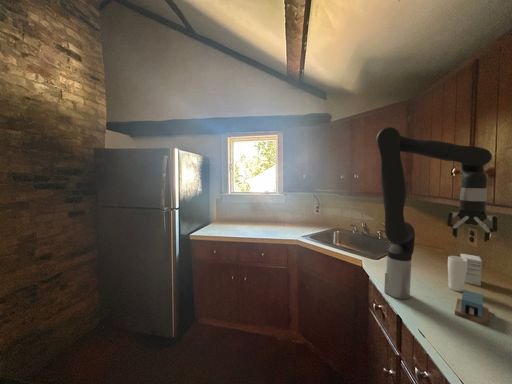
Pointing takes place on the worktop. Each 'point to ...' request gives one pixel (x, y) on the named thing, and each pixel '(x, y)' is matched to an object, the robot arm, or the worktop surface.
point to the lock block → (472, 301)
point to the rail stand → (472, 313)
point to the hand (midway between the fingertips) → (470, 239)
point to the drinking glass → (457, 272)
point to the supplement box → (473, 269)
